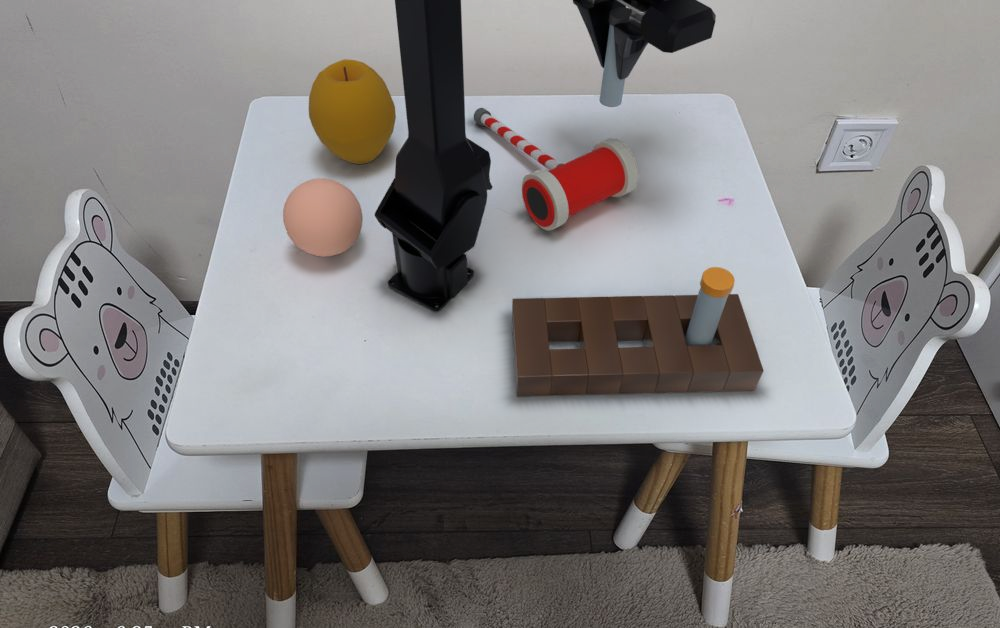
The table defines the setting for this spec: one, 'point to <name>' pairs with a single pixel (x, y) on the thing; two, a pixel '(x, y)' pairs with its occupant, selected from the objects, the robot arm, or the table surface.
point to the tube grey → (613, 63)
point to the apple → (352, 111)
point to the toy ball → (322, 217)
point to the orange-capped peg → (709, 306)
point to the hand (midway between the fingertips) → (614, 72)
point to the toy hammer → (569, 176)
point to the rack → (628, 368)
